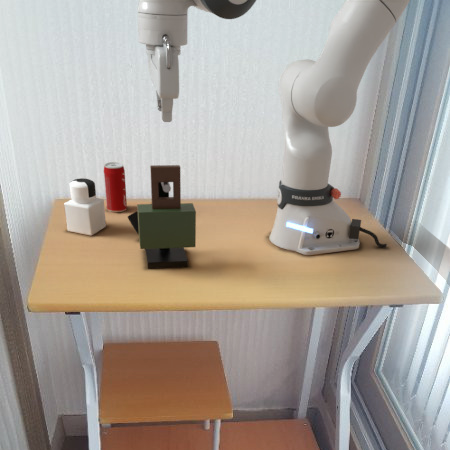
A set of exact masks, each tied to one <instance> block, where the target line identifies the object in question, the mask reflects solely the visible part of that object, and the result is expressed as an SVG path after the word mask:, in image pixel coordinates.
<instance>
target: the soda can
mask: <svg viewBox="0 0 450 450" xmlns="http://www.w3.org/2000/svg"><path fill="white" fill-rule="evenodd" d="M103 165H104V166H103V179H104V192H105V201H106V202H105V204H106V209H107V211H109V212H110V213H123V212H125V211H126V210H127V208H128V203H127V187H126V186H127V185H126V170H125V166H124V164H123V163H122V162H118V161H117V162H116V161H115V162H114V161H113V162H112V161H111V162H106V163H105V164H103Z"/></svg>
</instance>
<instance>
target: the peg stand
mask: <svg viewBox="0 0 450 450" xmlns="http://www.w3.org/2000/svg"><path fill="white" fill-rule="evenodd" d="M171 188H172V187H171V185H170V182H158V191H159V197H170V192H171ZM144 254H145V260H146V265H147V269H148V270H149V269H150V270H152V269H174V268H188V267H189V261H188V258H187V254H186V250H185V248H158V249H144Z"/></svg>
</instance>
